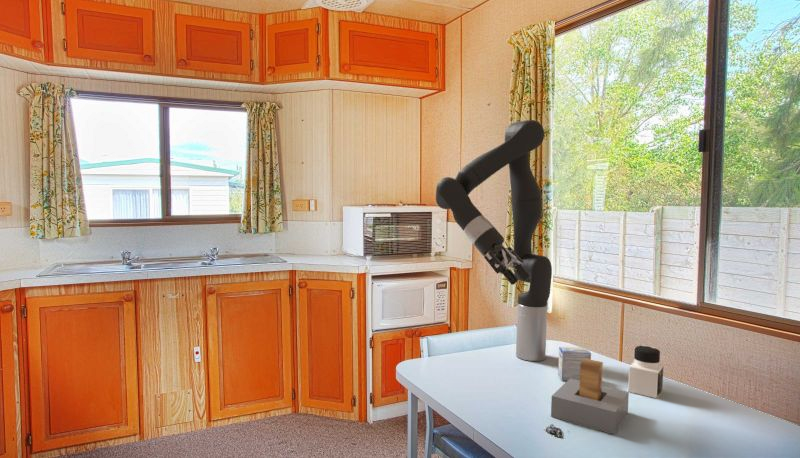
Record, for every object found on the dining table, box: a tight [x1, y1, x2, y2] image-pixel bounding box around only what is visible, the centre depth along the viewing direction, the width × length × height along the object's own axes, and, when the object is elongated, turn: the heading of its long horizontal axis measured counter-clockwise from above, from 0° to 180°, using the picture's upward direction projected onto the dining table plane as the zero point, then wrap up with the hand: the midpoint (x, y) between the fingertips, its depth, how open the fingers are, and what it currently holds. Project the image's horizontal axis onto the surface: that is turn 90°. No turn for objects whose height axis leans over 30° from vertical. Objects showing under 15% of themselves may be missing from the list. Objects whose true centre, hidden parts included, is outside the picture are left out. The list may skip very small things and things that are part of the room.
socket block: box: [550, 379, 630, 435], centre depth 116 cm, size 14×14×5 cm
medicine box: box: [557, 346, 592, 382], centre depth 139 cm, size 8×4×9 cm, turn 84°
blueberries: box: [543, 423, 564, 439], centre depth 107 cm, size 7×8×2 cm
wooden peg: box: [579, 359, 604, 401], centre depth 116 cm, size 4×4×12 cm
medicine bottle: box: [627, 344, 664, 399], centre depth 130 cm, size 7×7×12 cm
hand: (521, 280), depth 130 cm, fingers open, 8 cm apart
